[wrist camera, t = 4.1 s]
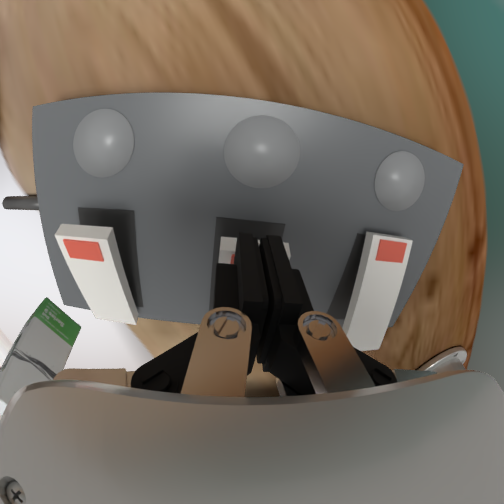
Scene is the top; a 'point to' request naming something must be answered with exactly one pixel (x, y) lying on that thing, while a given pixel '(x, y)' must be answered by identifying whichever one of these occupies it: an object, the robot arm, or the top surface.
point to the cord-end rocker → (98, 271)
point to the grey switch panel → (230, 192)
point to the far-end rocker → (376, 289)
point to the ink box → (38, 350)
